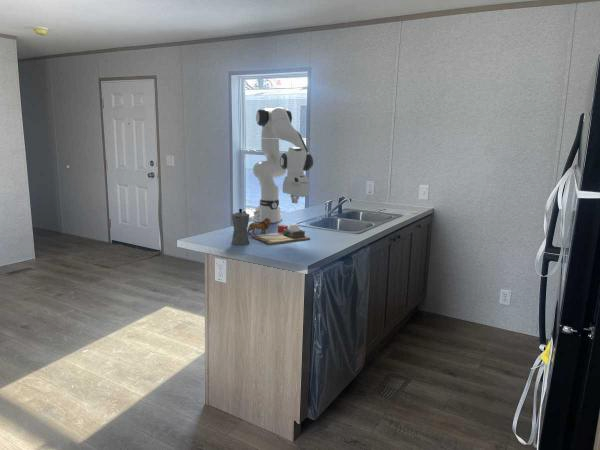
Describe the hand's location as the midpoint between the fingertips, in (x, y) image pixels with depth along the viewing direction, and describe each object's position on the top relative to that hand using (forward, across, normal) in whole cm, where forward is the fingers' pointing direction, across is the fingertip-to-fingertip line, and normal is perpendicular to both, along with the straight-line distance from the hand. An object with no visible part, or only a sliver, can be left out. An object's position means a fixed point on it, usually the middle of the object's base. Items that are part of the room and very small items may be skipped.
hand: (294, 203), depth 240 cm
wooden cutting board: (+19, -1, -8) cm, 21 cm away
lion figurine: (+19, -16, -13) cm, 28 cm away
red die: (+19, -13, +1) cm, 23 cm away
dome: (+17, 0, 0) cm, 17 cm away
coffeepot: (+19, -3, -31) cm, 37 cm away
